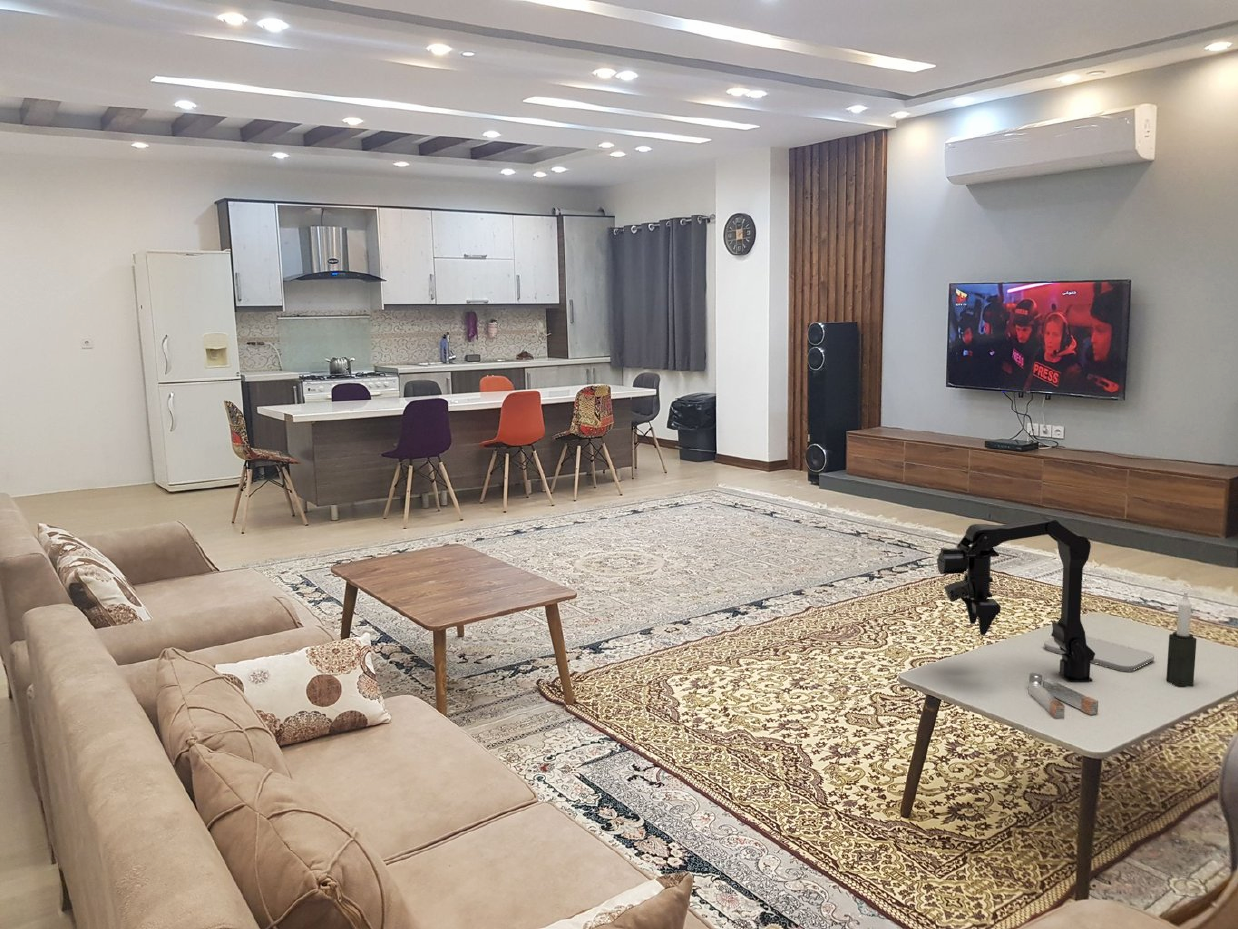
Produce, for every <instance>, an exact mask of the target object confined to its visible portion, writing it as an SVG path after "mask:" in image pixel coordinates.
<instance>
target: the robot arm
mask: <svg viewBox="0 0 1238 929" xmlns="http://www.w3.org/2000/svg"><path fill="white" fill-rule="evenodd" d="M1047 535H1048V536H1049V537H1050V538H1051V539H1053V540H1054V541H1056V542H1057V549H1058V550H1057V551H1058V555H1059V557H1060V560H1061V564H1062V582H1061V583H1062V585H1061V586H1062V587H1061V588H1062V589H1061V590H1062V591H1061V593H1062V594H1061V607H1060V608H1061V609H1060V610H1061V612H1060V617H1059V620H1058V621H1052V623H1051V625H1052V632H1051V634H1050V636H1051V637H1052V638H1054V641H1055V642H1056V644H1058V645H1059V647H1060V650H1061V651H1063V652H1065V653H1062V655H1061V659H1060V660H1059V670H1058V674H1059V675H1060V676H1061V677H1062V678H1064V679H1065V680H1066V681H1067V682H1073V683H1075V682H1093V678H1092V677H1090V676H1091V663H1090V661H1092V660H1093V659H1094V656H1095V653H1094V652H1093V651H1092V650H1091V649H1090V648H1089V647H1088V646H1087V645H1086V636H1087V635H1086V631H1085V629H1084V626H1083V624H1082V620H1081V616H1082V615H1081V614H1082V613H1081V612H1082V592H1083V572H1084V567H1085V565H1086V563H1087V562H1088V560H1089V559H1090V558H1089V557H1090V553H1091V549H1092V544H1091V541H1090V540H1089V539H1088V538H1087V537H1085V536H1083V535H1082V534H1079V533H1077V532H1074V531H1071V530H1069V529H1068V528H1067V527H1065V526H1064V525H1062V524H1061V523H1060V522H1059V521H1058V520H1055V519H1054V518H1051V517H1050V516H1045V517H1042V518H1039V519H1038V518H1037V519H1036V518H1035V519H1031V520H1024V521H1018V522H1012V523H1006V524H989V523H973V524H971V525H969V526H968V528H967V529H966V531H965V534H964V535H963V537H962V539H961V540H960V541H959V542H958V544H957V545H956V548H947V547H941V548H940V552H939V554H938V557H937V558H936V565H937V569H938V572H939V574H940V575H952V574H953V575H958V574H964V573H965V572H967V573H965V574H964V575H963V579H962V580H960V581H955V582H953V583H949V584H947V585H944V587H943V588H944V592H945V593H946V596H947V598H948V600H950V602H956V601H958V600H960V599H961V600H962V602H963V603H964V604H965V607H966V610H967V611H966V612H967V614H968V619H969V623H970V624H971V625H975V624H976V621H978V622H977V623H978V628H979V634H980V636H985V635H986V633H988V630H989V628H990V626H992V623H993V621H994V620H995V619H996V618H997V616H998V615H999V614H1000V613H1001V610H1002V608H1001V604H1000V603H998V602H997V601H996V600H995V599H994V598H993V593H992V592H991V583H993V581H994V580H993V578H992V577H991V570H992V569H991V568H992V566H991V562H992V561H991V560H992V558H993V557H994V558H996V557H999V556H1000V553H998V552H997V551H996V550H995V548H996V547H998V546H1000V545H1001V544H1003V543H1005V542H1008V541H1009V542H1010V541H1015V540H1021V539H1027V538H1028V539H1029V538H1033V537H1034V538H1035V537H1039V536H1047Z"/></svg>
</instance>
